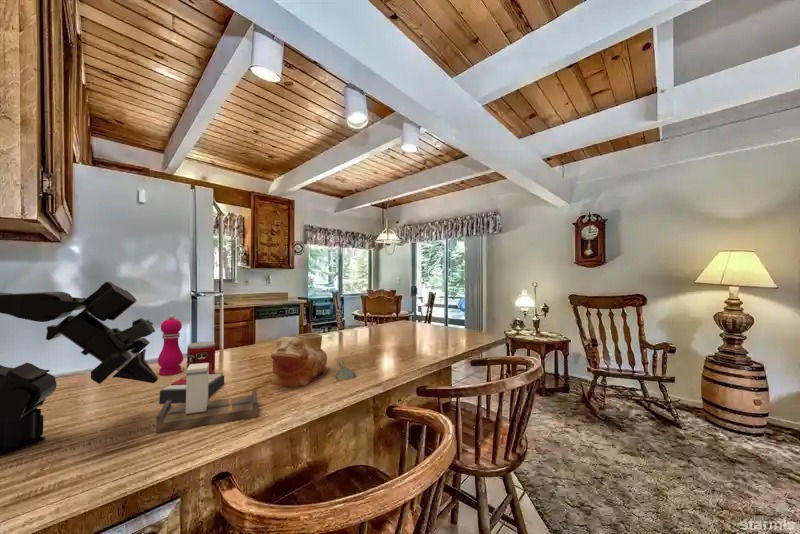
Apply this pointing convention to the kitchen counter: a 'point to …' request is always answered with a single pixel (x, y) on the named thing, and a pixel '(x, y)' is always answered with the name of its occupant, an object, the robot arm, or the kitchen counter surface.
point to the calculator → (178, 389)
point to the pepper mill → (170, 347)
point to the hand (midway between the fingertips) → (156, 381)
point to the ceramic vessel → (298, 360)
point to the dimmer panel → (206, 413)
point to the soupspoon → (345, 373)
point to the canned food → (202, 354)
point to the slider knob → (197, 387)
